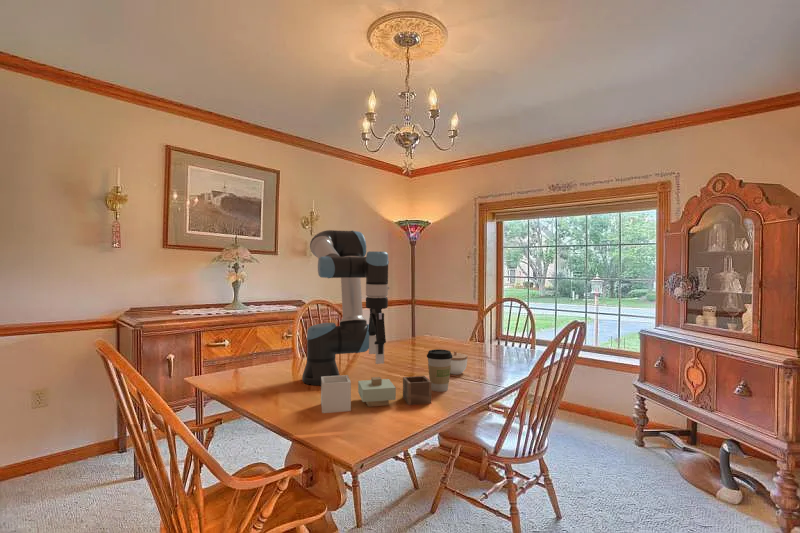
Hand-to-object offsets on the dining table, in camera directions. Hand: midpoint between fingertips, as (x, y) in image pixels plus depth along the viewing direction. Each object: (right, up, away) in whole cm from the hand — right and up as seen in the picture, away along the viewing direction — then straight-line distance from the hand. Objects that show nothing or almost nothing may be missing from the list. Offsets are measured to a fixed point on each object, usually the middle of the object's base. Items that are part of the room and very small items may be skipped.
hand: (376, 358), depth 141 cm
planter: (-13, -16, -6) cm, 21 cm away
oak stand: (0, -16, -1) cm, 16 cm away
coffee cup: (+23, -16, +15) cm, 32 cm away
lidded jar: (+33, -16, +43) cm, 57 cm away
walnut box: (+14, -16, +2) cm, 21 cm away
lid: (0, -13, -1) cm, 13 cm away
